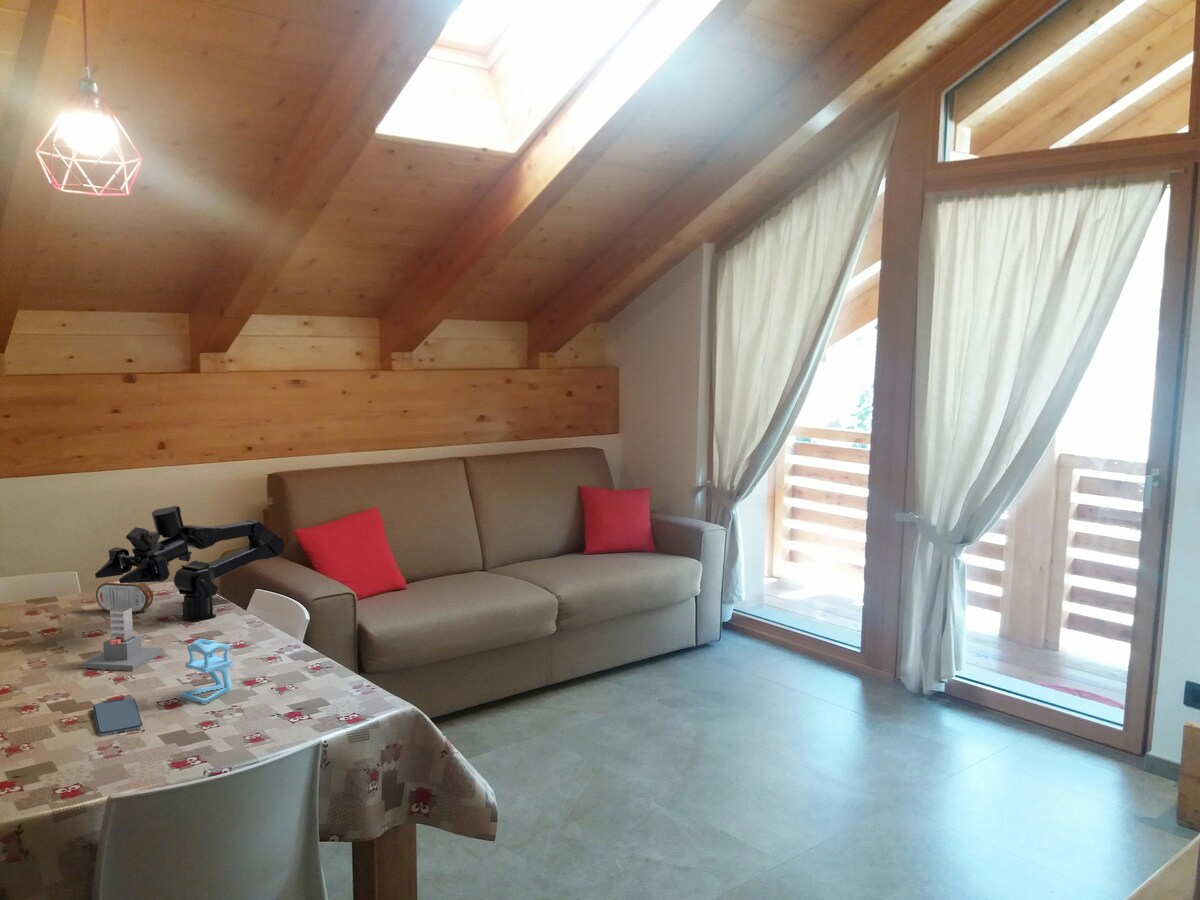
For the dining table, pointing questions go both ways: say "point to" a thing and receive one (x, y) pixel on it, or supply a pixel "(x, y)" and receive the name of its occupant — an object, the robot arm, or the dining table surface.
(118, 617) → the column
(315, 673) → the dining table surface
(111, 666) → the base
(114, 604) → the tin
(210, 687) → the light blue holder stand
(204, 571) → the robot arm
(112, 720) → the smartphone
